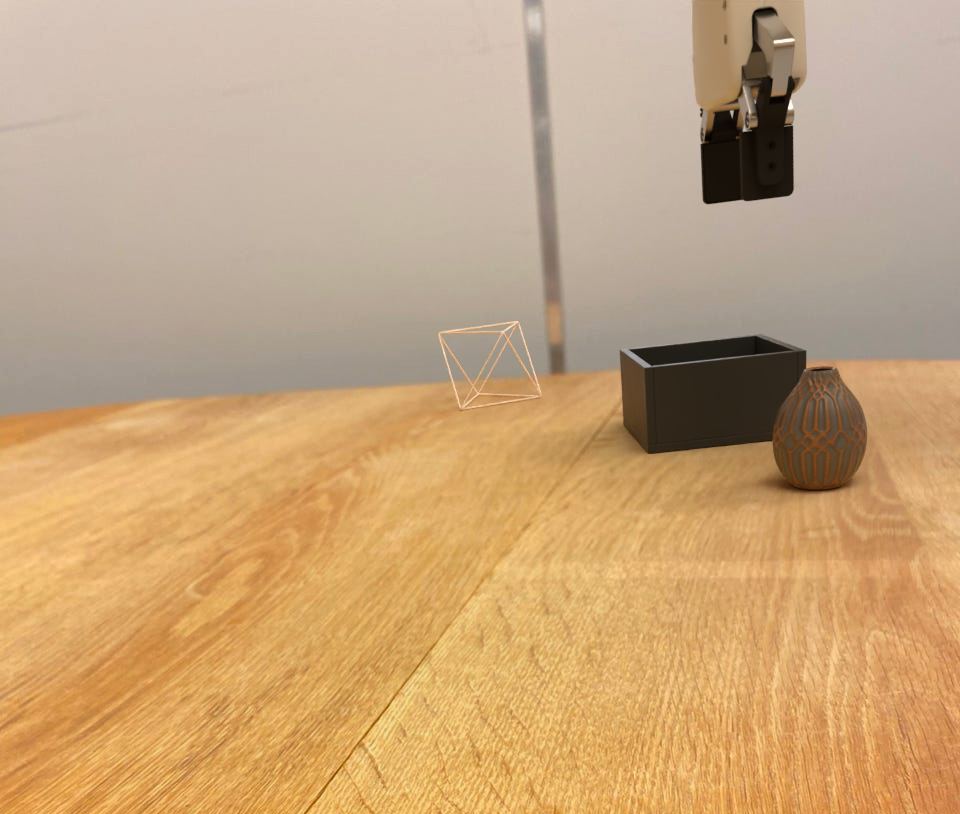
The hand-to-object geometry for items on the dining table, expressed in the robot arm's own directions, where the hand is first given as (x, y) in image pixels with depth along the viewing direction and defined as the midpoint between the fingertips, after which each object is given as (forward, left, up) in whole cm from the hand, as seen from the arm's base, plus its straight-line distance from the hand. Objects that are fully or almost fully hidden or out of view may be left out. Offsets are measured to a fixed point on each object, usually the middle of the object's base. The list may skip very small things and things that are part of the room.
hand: (745, 200), depth 71 cm
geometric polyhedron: (+17, -60, -21) cm, 65 cm away
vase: (-6, -4, -21) cm, 23 cm away
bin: (-3, -28, -21) cm, 35 cm away
